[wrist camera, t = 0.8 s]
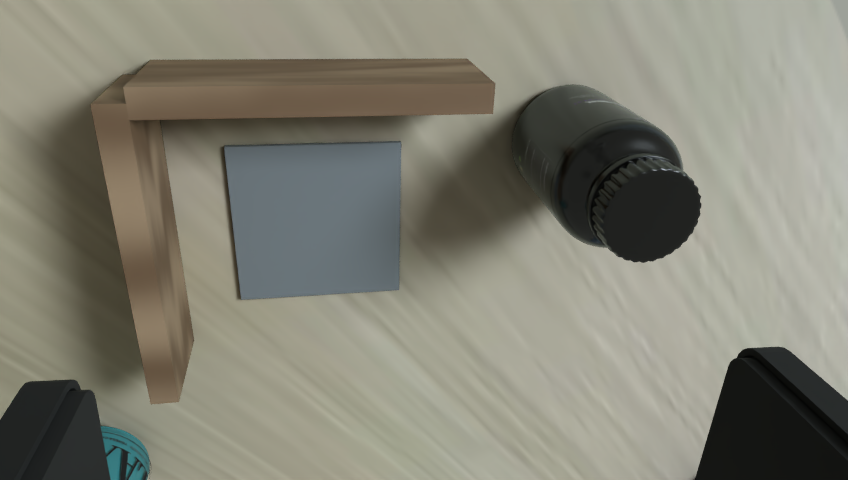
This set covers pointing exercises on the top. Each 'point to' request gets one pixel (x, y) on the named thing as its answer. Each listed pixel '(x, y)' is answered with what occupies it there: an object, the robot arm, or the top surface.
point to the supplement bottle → (606, 173)
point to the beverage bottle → (125, 455)
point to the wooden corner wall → (223, 99)
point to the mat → (315, 217)
